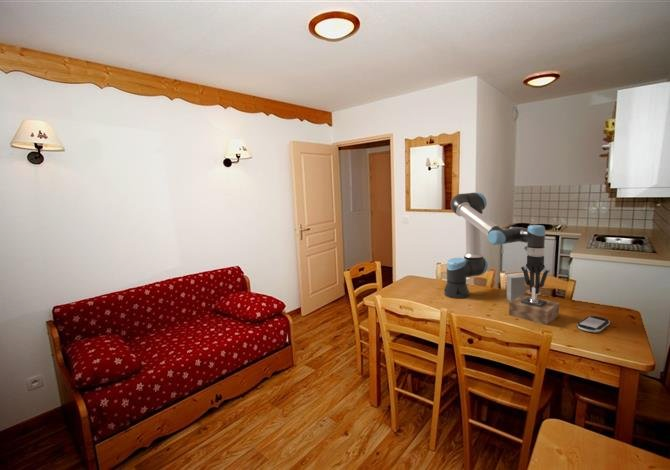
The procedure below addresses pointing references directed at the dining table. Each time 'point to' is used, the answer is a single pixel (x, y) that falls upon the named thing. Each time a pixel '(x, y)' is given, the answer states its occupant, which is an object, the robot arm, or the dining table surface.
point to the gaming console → (593, 324)
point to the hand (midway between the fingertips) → (534, 298)
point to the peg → (534, 300)
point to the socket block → (534, 309)
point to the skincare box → (515, 286)
